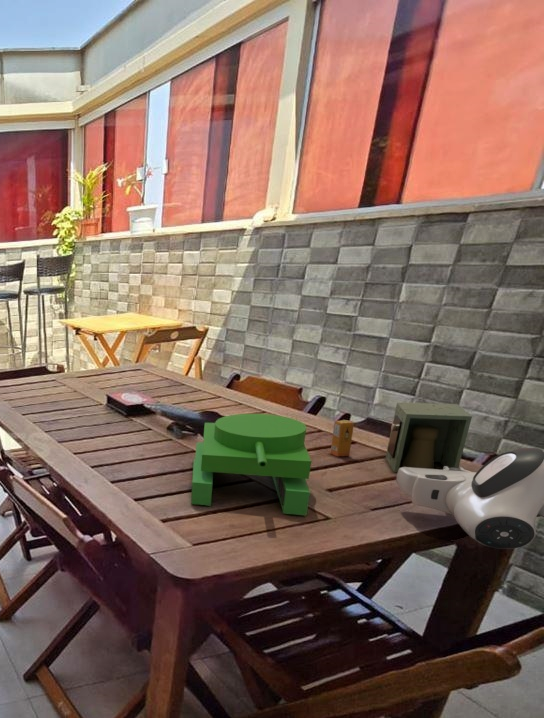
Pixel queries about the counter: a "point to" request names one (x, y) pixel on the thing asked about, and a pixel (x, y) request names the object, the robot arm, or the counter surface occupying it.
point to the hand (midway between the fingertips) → (451, 469)
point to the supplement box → (342, 438)
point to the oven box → (441, 416)
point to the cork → (421, 447)
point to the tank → (255, 456)
